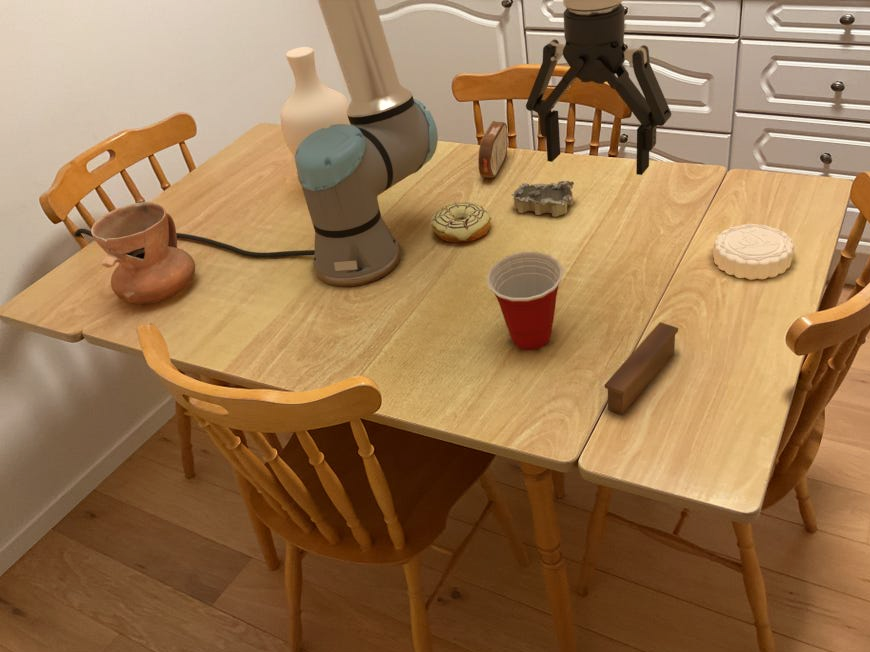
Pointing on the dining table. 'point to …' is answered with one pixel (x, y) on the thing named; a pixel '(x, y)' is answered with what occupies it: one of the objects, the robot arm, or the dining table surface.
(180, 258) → the ceramic jug
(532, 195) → the egg carton
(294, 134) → the vase
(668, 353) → the walnut rail
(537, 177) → the dining table surface
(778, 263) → the mooncake
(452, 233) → the decorated donut
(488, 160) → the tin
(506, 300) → the plastic cup
